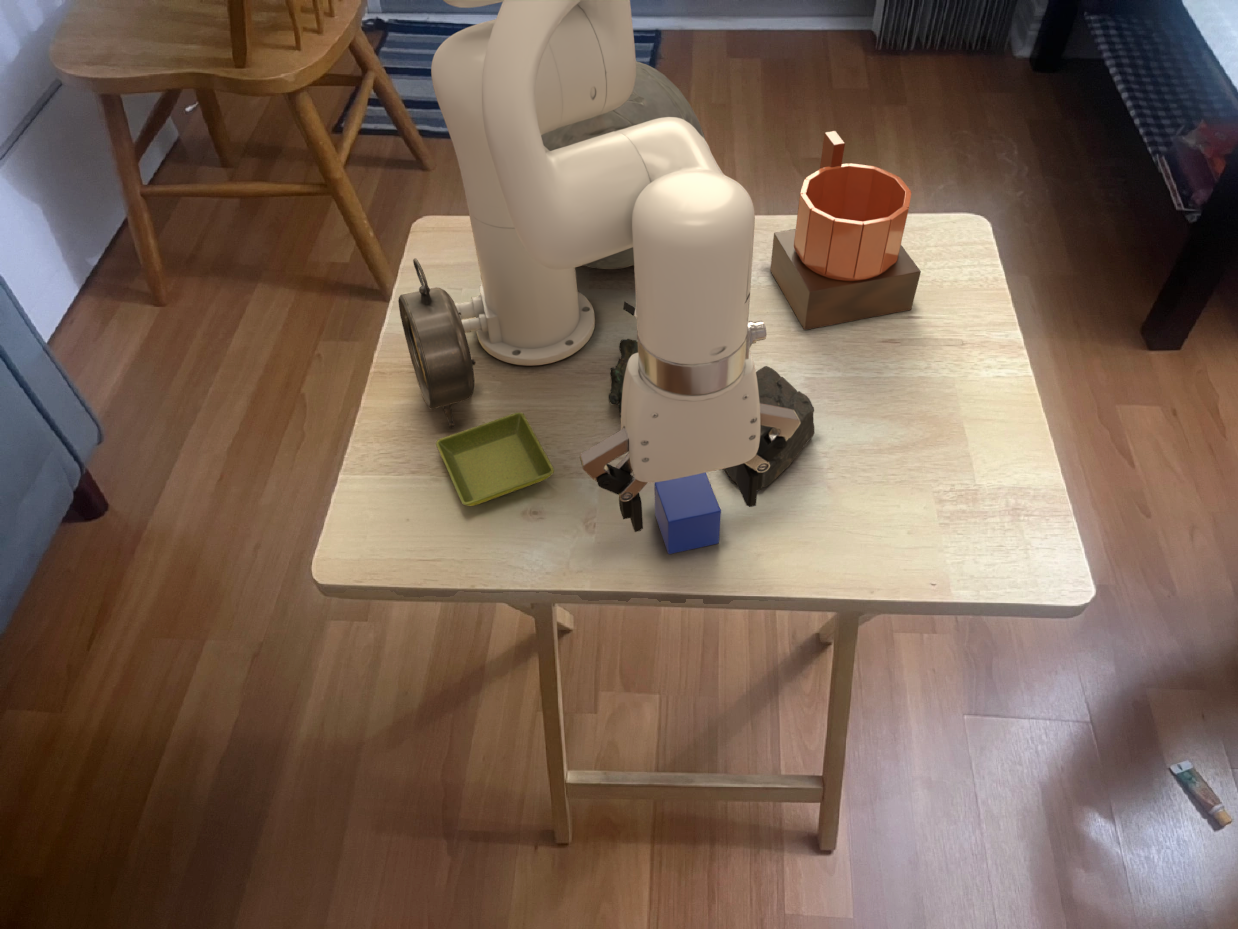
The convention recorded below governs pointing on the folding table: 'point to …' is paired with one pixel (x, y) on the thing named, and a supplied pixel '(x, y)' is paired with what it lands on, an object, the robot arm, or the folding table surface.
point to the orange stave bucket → (850, 217)
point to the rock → (784, 395)
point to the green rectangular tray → (494, 459)
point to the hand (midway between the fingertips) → (690, 506)
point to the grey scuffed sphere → (644, 104)
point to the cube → (687, 513)
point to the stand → (840, 288)
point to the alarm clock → (437, 346)
